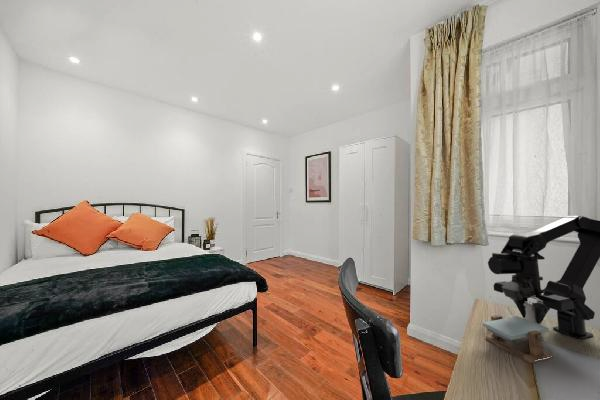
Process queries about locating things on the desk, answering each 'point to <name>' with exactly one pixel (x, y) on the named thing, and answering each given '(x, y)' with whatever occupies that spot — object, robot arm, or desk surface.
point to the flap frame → (534, 344)
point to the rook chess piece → (530, 312)
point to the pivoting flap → (513, 327)
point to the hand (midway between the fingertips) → (531, 320)
